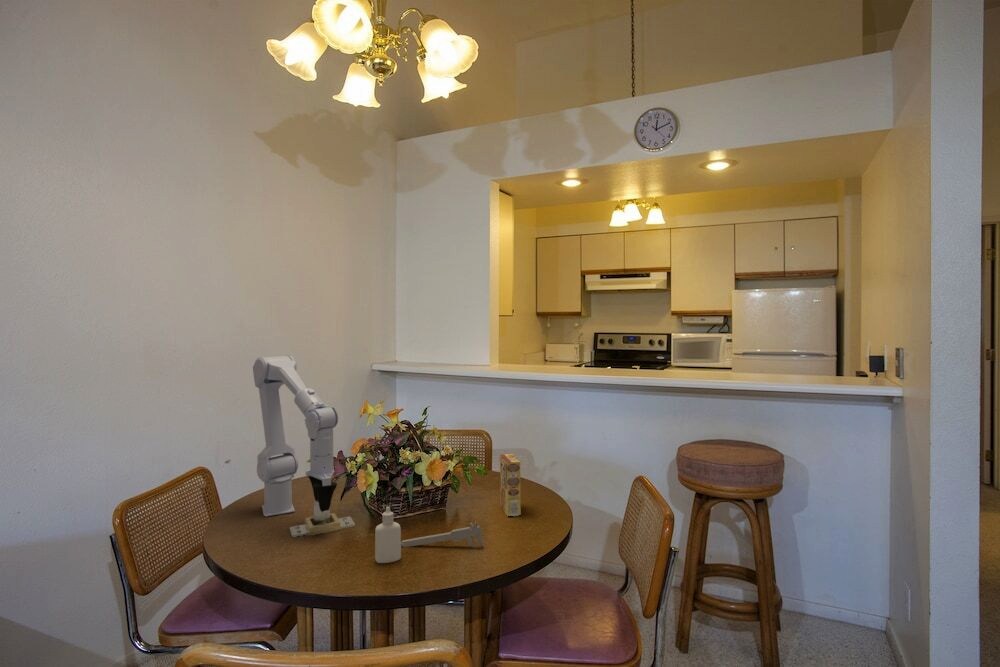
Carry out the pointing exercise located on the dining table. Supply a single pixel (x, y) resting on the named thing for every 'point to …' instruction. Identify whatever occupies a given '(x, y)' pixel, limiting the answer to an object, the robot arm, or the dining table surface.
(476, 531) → the caliper
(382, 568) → the dining table surface
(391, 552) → the eye dropper bottle
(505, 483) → the candy box
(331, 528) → the cream tabbed socket tray
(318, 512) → the translucent cylinder
